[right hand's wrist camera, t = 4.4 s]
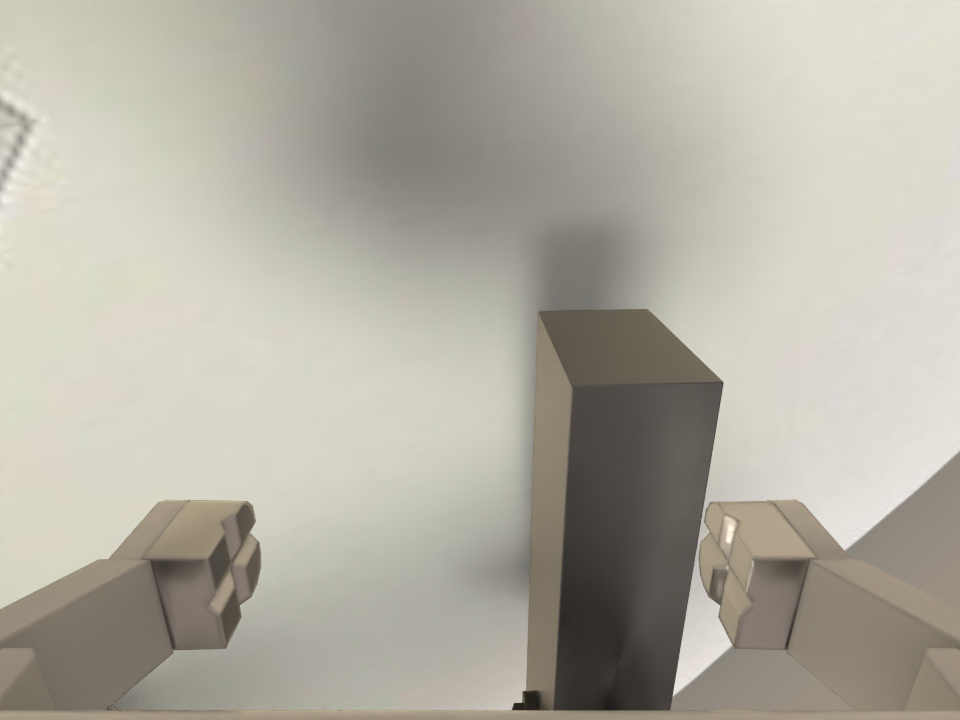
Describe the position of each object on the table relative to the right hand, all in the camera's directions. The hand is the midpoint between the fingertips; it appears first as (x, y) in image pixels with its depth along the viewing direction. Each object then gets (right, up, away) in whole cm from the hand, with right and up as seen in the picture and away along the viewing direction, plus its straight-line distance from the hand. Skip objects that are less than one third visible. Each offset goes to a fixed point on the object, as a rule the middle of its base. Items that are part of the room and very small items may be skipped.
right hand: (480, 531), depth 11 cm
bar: (+5, -6, +20) cm, 22 cm away
